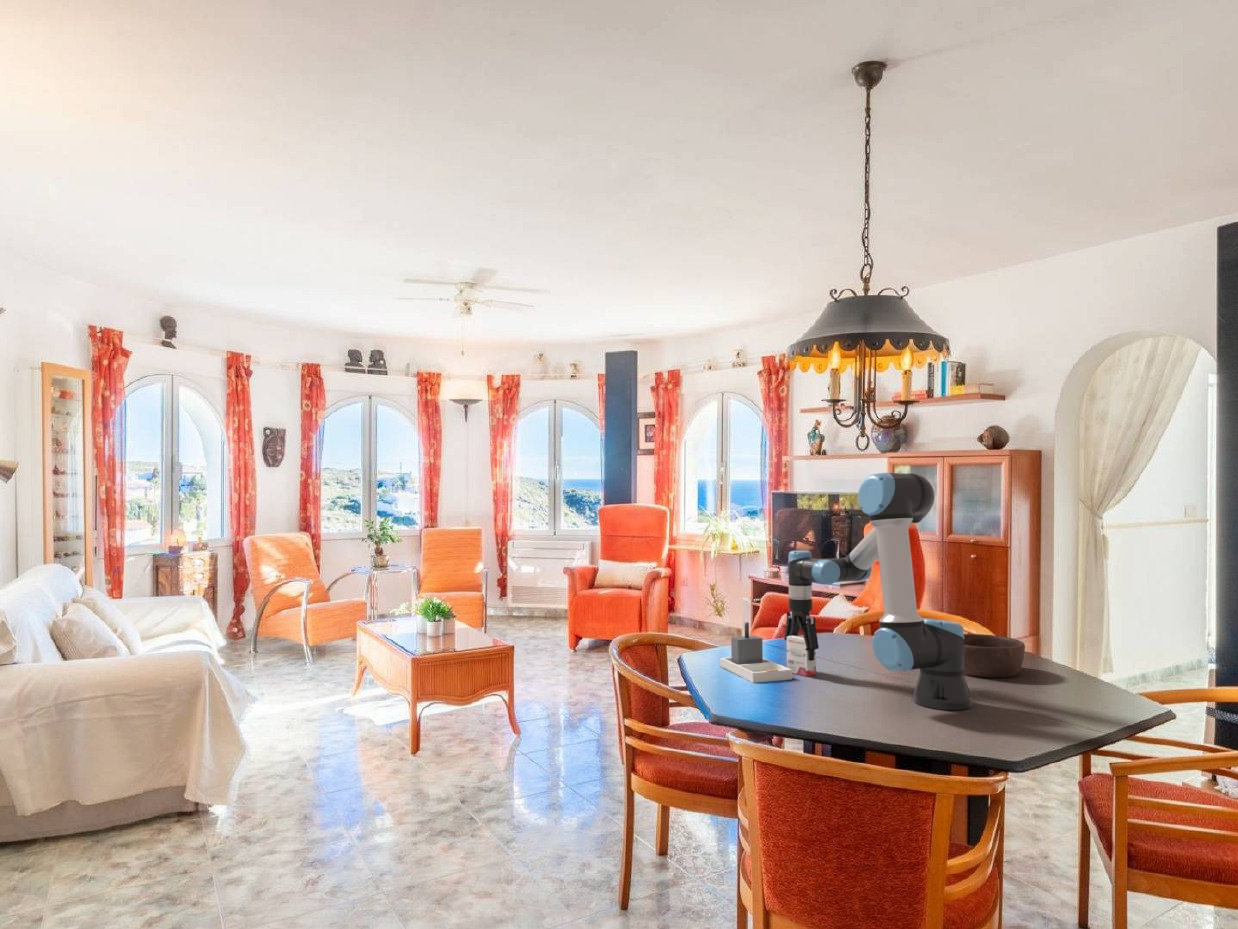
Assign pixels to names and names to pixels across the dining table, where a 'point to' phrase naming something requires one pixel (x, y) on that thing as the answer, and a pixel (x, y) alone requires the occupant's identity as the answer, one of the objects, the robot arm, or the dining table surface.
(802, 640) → the ink box
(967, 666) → the wooden bowl
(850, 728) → the dining table surface
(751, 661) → the grey block with handle
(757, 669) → the tray
